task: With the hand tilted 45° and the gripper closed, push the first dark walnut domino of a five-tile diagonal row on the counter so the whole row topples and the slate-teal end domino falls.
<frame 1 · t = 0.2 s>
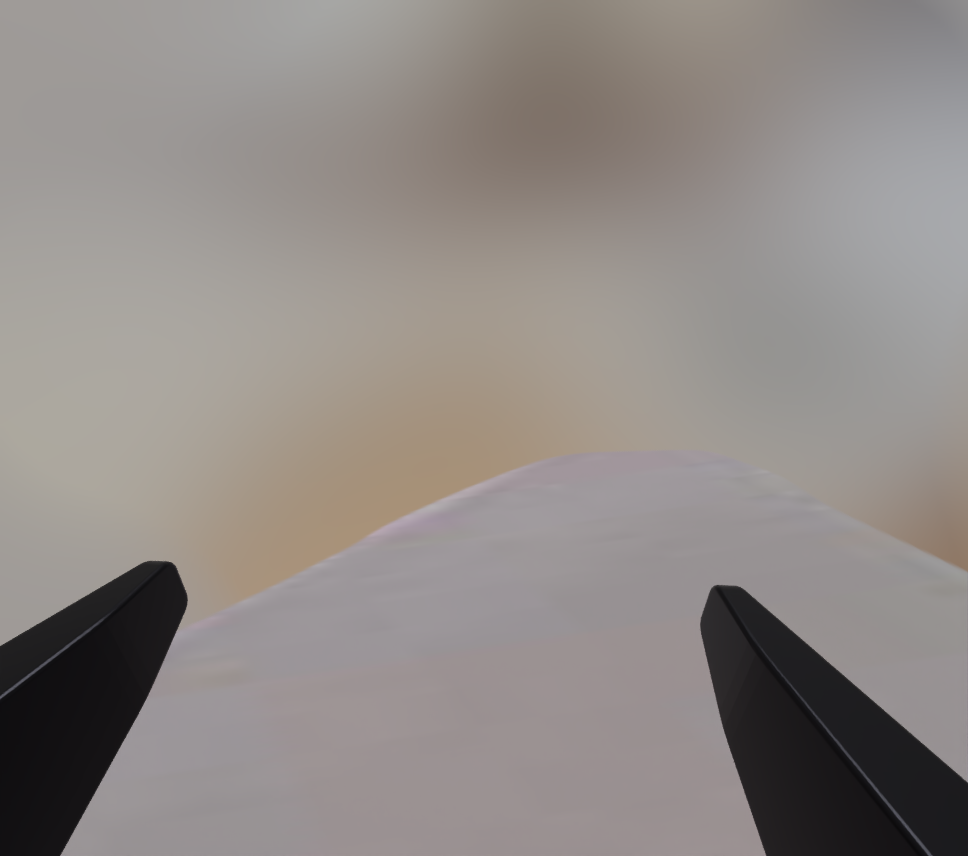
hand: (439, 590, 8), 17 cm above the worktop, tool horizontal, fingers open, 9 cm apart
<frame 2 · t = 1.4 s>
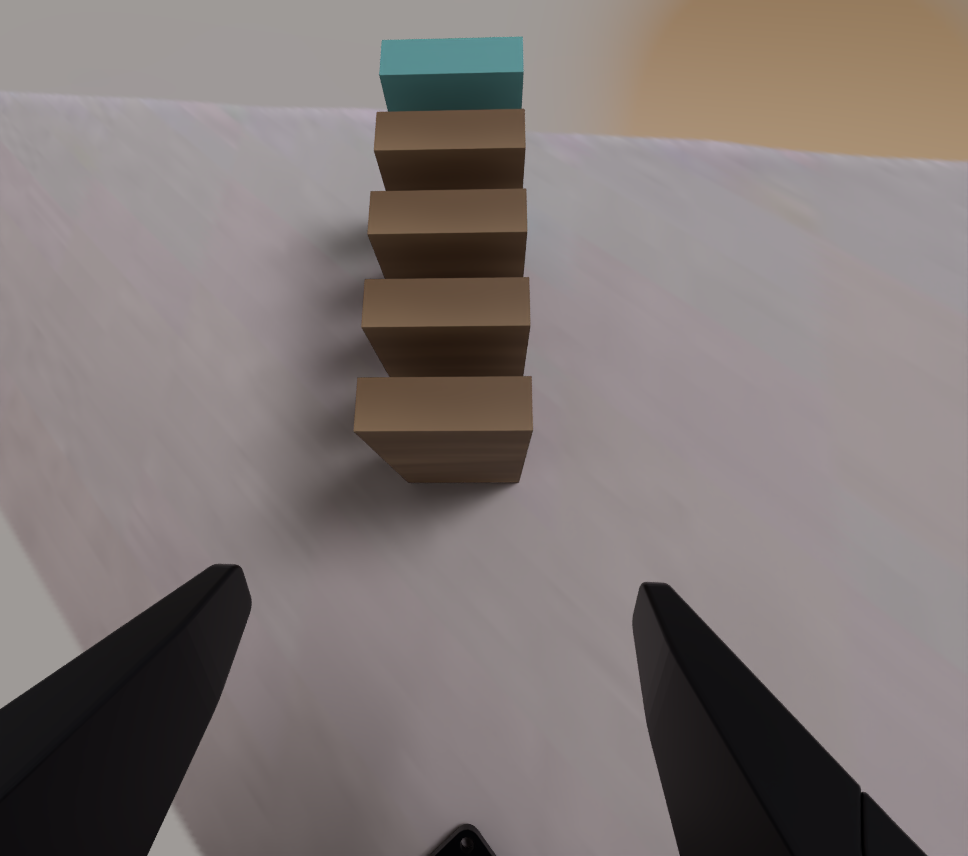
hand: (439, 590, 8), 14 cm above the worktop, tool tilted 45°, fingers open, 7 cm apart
domino 1: (463, 465, 23), on the worktop
domino 4: (466, 278, 25), on the worktop
domino 5: (466, 224, 26), on the worktop
domino 2: (464, 398, 24), on the worktop
domino 3: (465, 336, 24), on the worktop
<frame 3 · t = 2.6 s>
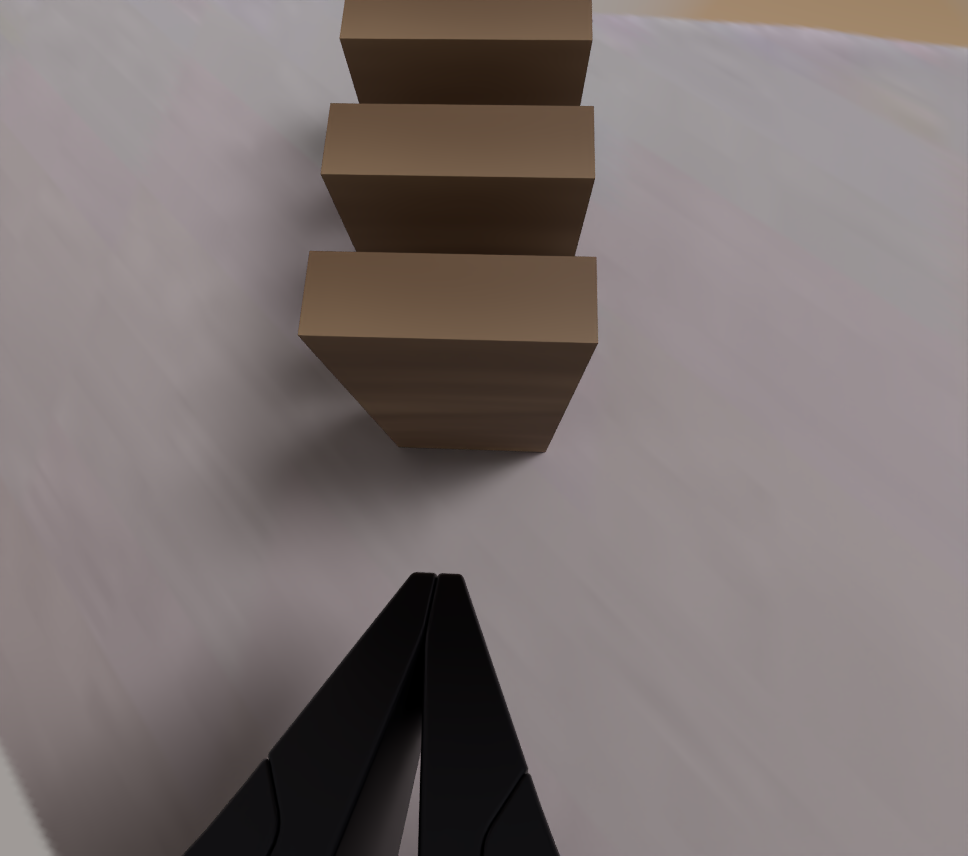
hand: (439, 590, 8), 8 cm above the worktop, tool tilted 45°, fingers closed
domino 1: (472, 426, 17), on the worktop
domino 2: (476, 340, 18), on the worktop
domino 3: (480, 262, 19), on the worktop
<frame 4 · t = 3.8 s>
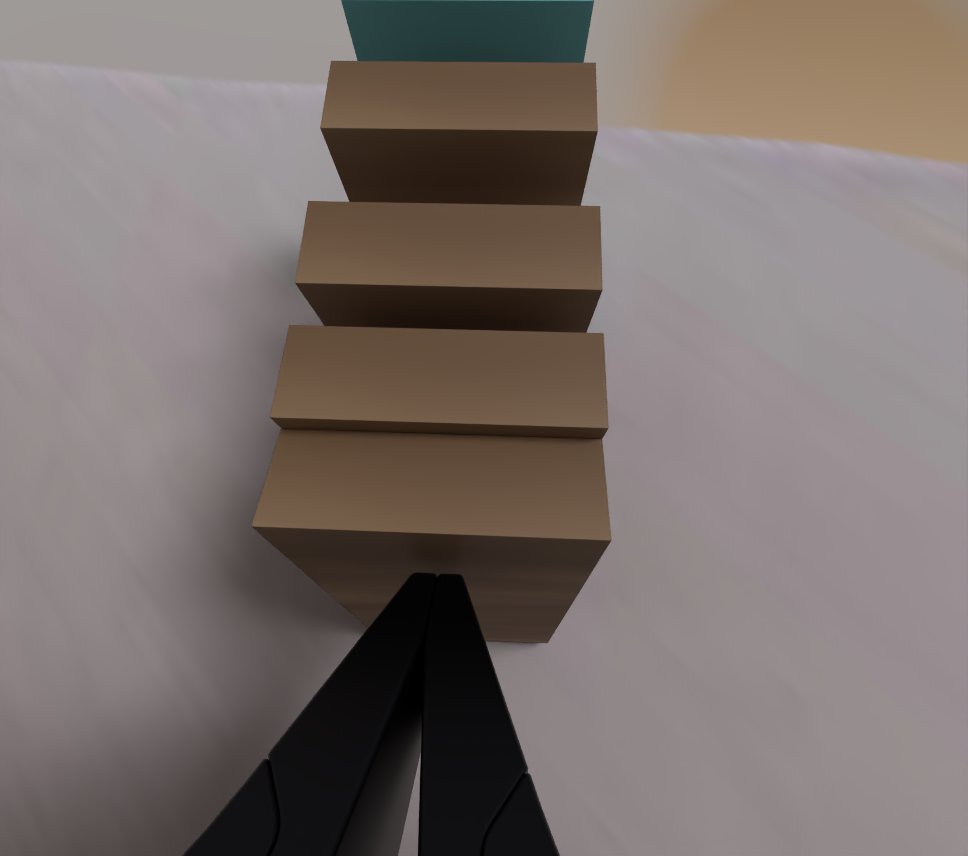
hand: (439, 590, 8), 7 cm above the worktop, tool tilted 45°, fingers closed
domino 1: (463, 610, 15), on the worktop, tilted 15°
domino 4: (477, 325, 18), on the worktop
domino 5: (481, 248, 19), on the worktop
domino 2: (468, 505, 16), on the worktop, tilted 5°
domino 3: (473, 411, 17), on the worktop
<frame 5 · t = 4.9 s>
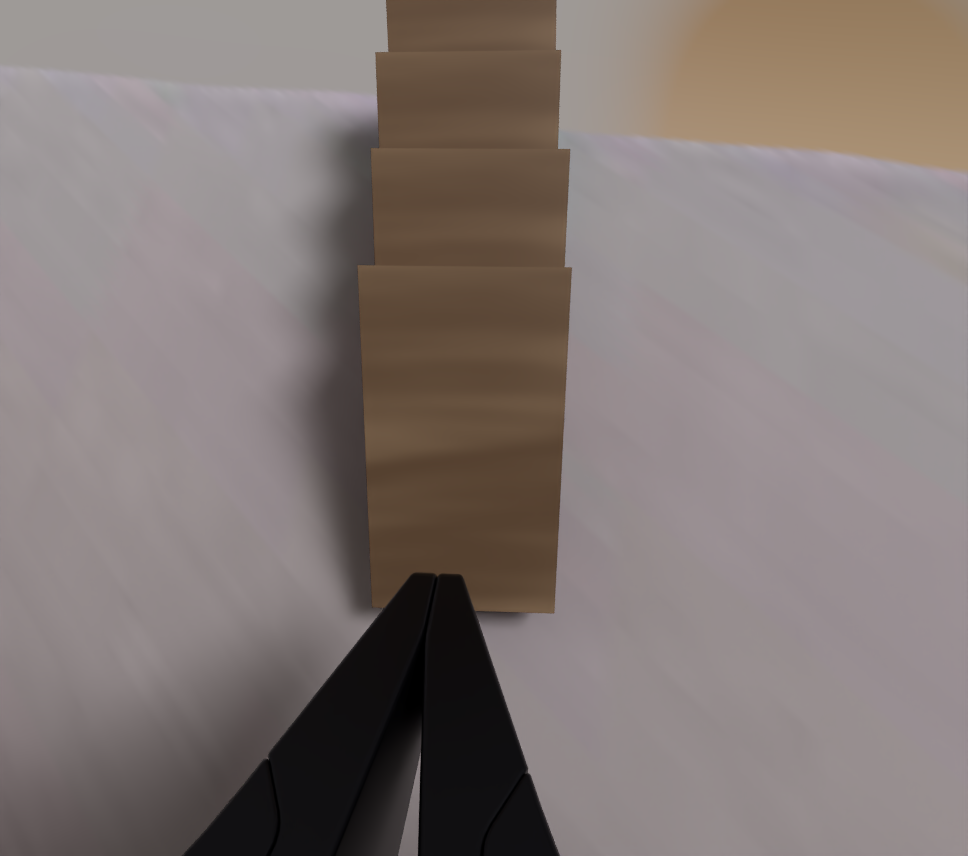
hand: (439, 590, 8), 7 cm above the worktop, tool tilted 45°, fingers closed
domino 1: (464, 594, 14), point 1 cm above the worktop, tilted 61°, touching domino 2
domino 4: (476, 283, 17), point 1 cm above the worktop, tilted 62°, touching domino 3
domino 2: (469, 479, 15), point 1 cm above the worktop, tilted 61°, touching domino 1, domino 3
domino 3: (470, 380, 16), point 1 cm above the worktop, tilted 61°, touching domino 2, domino 4
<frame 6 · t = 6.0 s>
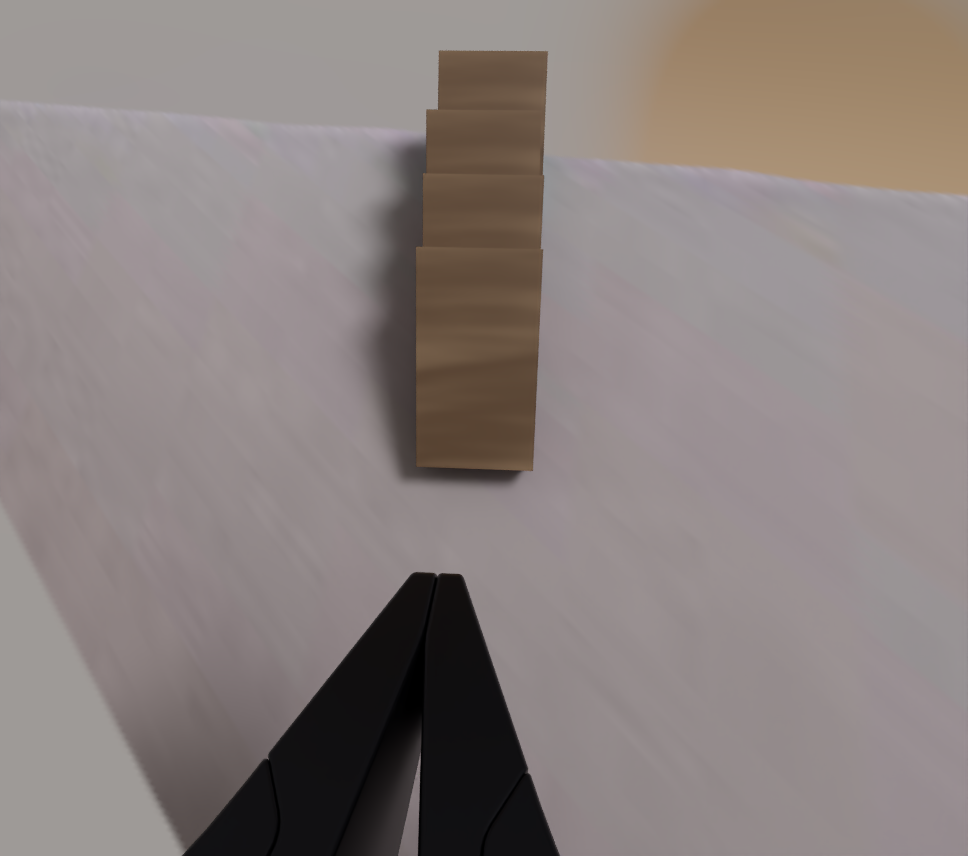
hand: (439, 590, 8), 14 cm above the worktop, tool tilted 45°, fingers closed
domino 1: (475, 463, 22), point 1 cm above the worktop, tilted 63°, touching domino 2
domino 4: (488, 257, 25), point 1 cm above the worktop, tilted 66°, touching domino 3, domino 5
domino 2: (478, 389, 23), point 1 cm above the worktop, tilted 63°, touching domino 1, domino 3
domino 3: (480, 322, 24), point 1 cm above the worktop, tilted 63°, touching domino 2, domino 4
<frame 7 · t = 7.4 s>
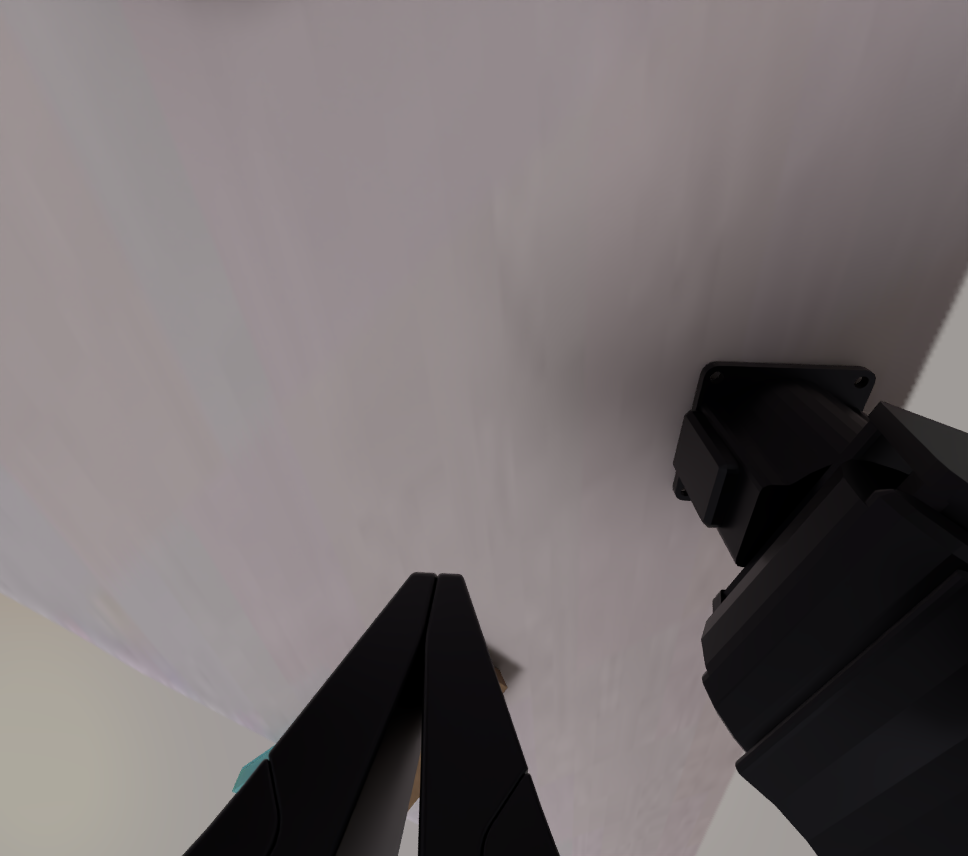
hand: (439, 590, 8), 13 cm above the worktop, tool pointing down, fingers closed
domino 1: (471, 658, 28), point 1 cm above the worktop, tilted 64°, touching domino 2
domino 5: (335, 749, 34), point 1 cm above the worktop, tilted 90°, touching domino 4
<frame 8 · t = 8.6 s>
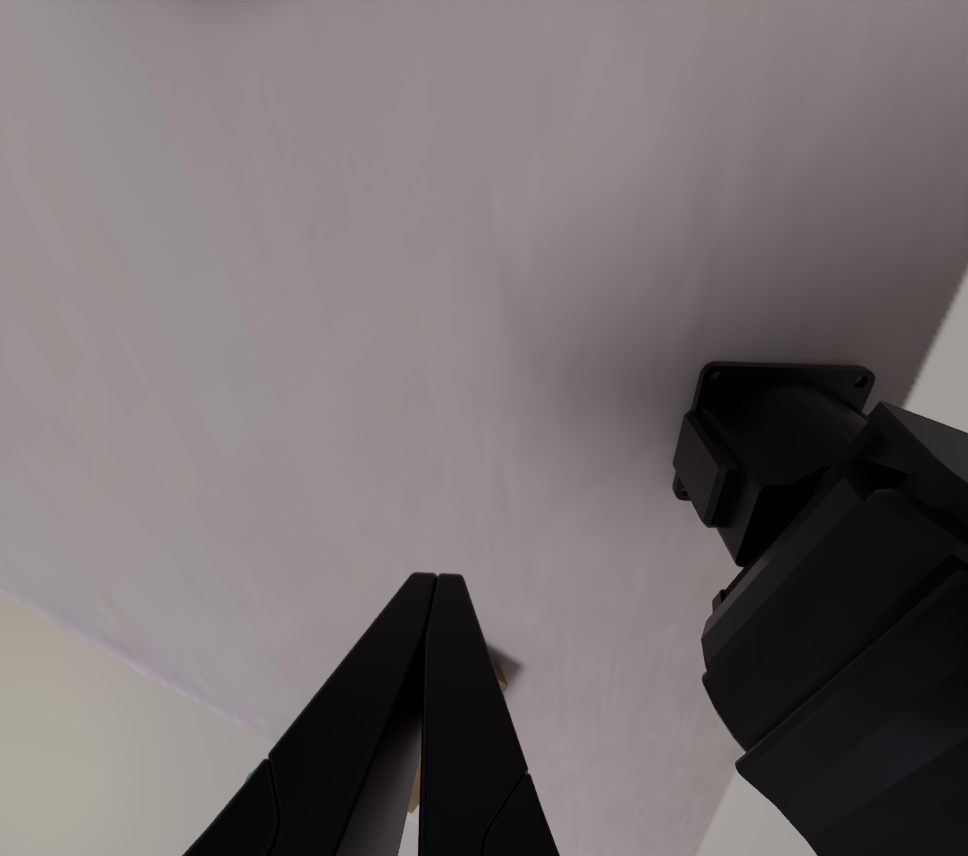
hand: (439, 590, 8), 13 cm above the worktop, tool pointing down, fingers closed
domino 1: (471, 657, 28), point 1 cm above the worktop, tilted 65°, touching domino 2
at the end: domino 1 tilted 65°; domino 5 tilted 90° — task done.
